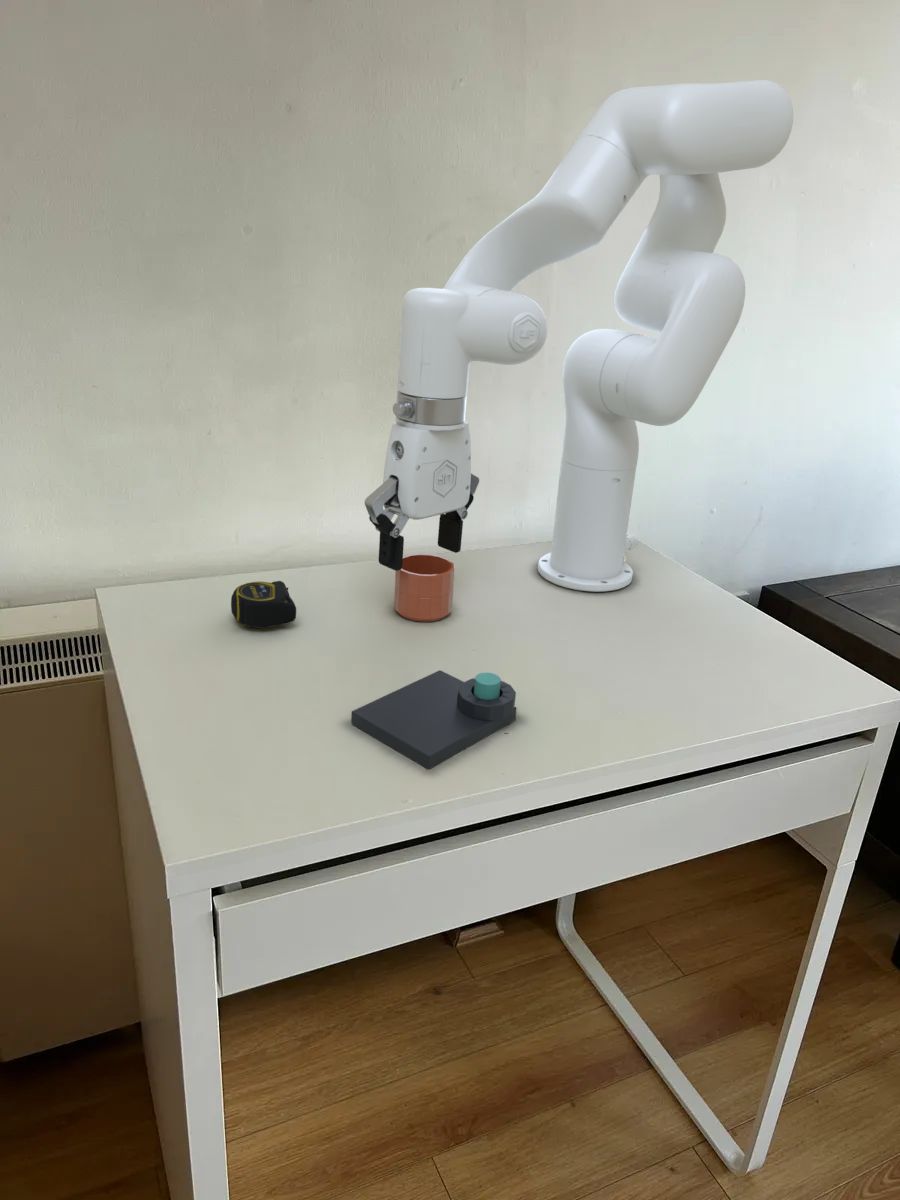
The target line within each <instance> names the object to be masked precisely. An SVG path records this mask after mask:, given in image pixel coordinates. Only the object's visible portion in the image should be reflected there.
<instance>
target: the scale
mask: <svg viewBox="0 0 900 1200" xmlns="http://www.w3.org/2000/svg"><path fill="white" fill-rule="evenodd" d="M474 686H475V677H474V678H469V679H468V680H466V681H463V680H461V679H459V678H457V677H455V676H453V675H451V674H449V673H447V672H445V671H443V670H440V669H439V670H437V671H435V672H433V673H430V674H428V675H426V676H424V677H422V678H420V679H418V680H416V681H414V682H413V681H412V682H411V683H409V684H407V685H405V686H403V687H401V688H399V689H396V690H394V691H392V692H390V693H388V694H386V695H384V696H382V697H379V698H377V699H375V700H373V701H371V702H368V703H366V704H365V705H362V706H360V707H358V708H356V709H354V710H352V711H351V715H350V716H351V717H350V718H351V721H350V723H351V725H352V726H354V727H355V728H358V729H359V730H361V731H363V732H364V733H365V734H368V735H369V736H371V737H373V738H374V739H376V740H377V741H380V742H381V743H383V744H384V745H386V746H388V747H390V748H392V749H393V750H395V751H396V752H398V753H400V754H401V755H403V756H405V757H406V758H408V759H410V760H412V761H413V762H415V763H417V764H418V765H420V766H421V767H424V768H425V769H427V770H431V769H432V768H434V767H436V766H438V765H439V764H441V763H443V762H444V761H446V760H448V759H450V758H452V757H454V756H455V755H457V754H459V753H460V752H462V751H464V750H466V749H467V748H469V747H471V746H472V745H475V744H476V743H478V742H480V741H481V740H483V739H485V738H487V737H488V736H490V735H492V734H494V733H495V732H497V731H499V730H501V729H502V728H504V727H506V726H507V725H509V724H511V723H513V722H514V721H516V720H517V719H516V717H517V707H516V705H515V704H516V694H517V693H516V691H515V689H514V688H513V686H512V685H511V684H509V683H508V682H505V681H503V680H501V683H500V694H499V698H497V699H491V700H486V699H480V698H478V697H476V696H475V695H474Z"/></svg>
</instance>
